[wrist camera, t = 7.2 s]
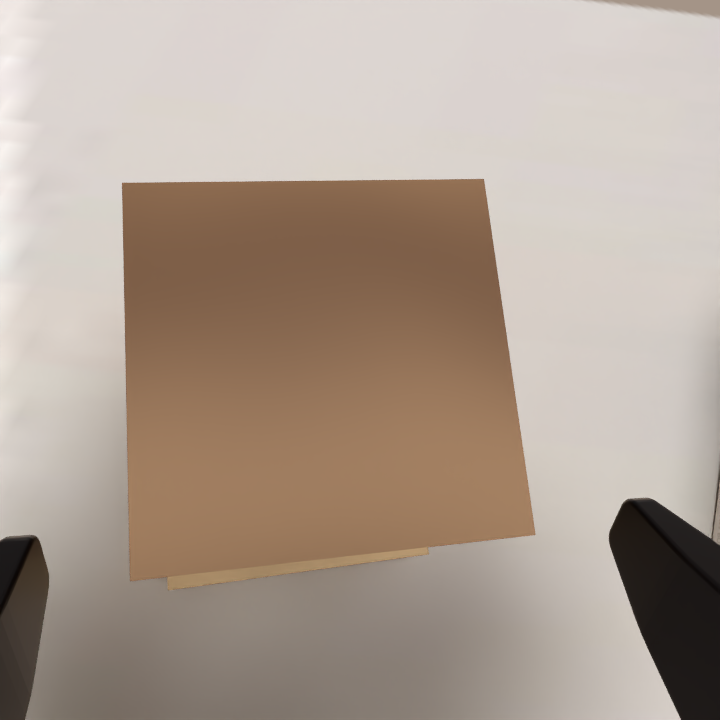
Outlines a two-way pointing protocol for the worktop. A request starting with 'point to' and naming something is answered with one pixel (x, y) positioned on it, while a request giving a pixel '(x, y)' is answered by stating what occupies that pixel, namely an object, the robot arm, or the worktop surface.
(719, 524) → the light bulb box
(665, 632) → the robot arm
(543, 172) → the worktop surface
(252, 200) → the walnut block
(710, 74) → the worktop surface
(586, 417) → the worktop surface
